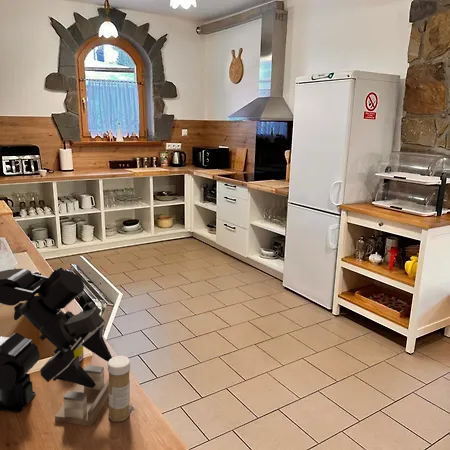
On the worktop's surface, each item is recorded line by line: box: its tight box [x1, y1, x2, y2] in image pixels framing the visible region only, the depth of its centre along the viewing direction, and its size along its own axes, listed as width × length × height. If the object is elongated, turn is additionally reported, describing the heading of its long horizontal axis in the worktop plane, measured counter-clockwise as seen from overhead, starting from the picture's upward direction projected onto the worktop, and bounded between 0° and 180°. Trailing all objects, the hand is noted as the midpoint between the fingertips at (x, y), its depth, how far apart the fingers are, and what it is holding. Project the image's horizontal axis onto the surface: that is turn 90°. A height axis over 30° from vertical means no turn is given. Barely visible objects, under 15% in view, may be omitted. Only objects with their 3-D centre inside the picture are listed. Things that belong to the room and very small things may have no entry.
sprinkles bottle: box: [107, 355, 131, 422], centre depth 90 cm, size 5×5×14 cm
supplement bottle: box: [69, 339, 84, 362], centre depth 109 cm, size 5×5×10 cm
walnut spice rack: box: [54, 364, 109, 427], centre depth 94 cm, size 8×12×6 cm, turn 174°
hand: (103, 372), depth 89 cm, fingers open, 9 cm apart
